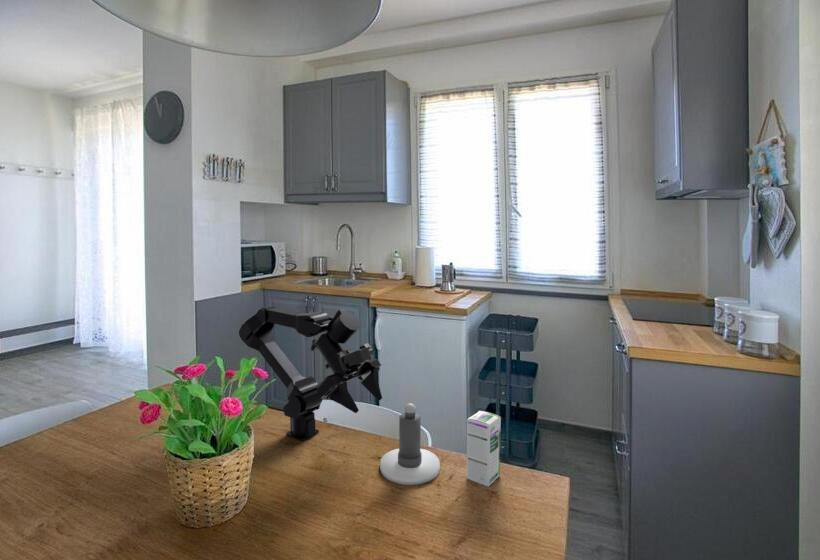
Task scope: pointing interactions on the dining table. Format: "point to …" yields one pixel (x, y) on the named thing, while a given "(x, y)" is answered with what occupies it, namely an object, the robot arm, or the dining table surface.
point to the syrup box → (483, 447)
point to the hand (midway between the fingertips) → (369, 405)
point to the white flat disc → (410, 475)
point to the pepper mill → (409, 438)
